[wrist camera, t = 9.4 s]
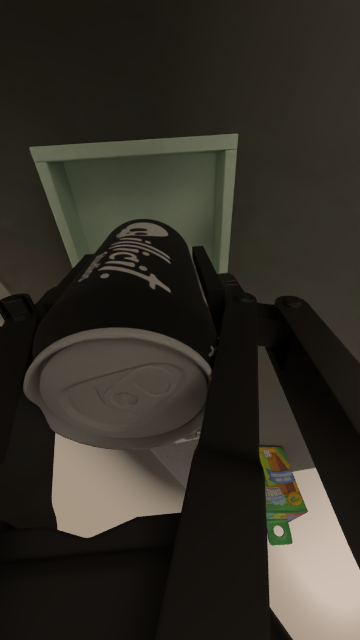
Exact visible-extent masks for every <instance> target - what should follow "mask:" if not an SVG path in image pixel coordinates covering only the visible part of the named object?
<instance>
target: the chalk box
mask: <svg viewBox="0 0 360 640" xmlns="http://www.w3.org/2000/svg"><path fill="white" fill-rule="evenodd" d="M259 453H260V463H261V464H262V466H263V469H264V475H265V490H266V519H267V534H268V539H269V543H270V544H271V545H285V544H292V537H291V533H290V528H289V524H288V522H290V521H292V520H294V519H296V518H297V517H299V516H301V515H303V514H305V513H307V512H308V511H307V508H306V506H305V504H304V501H303V498H302V496H301V494H300V491H299V488H298V486H297V483H296V481H295V479H294V476H293V473H292V471H291V468H290V466H289V463H288V461H287V458H286V456H285V453H284V451H283V448H282V447H266V446H259ZM276 525H278V526H281V527H282V528H283V530H284V534H283V535H282V536H281V537H278V536H276V535H275V534H274V531H273V528H274V526H276Z"/></svg>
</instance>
